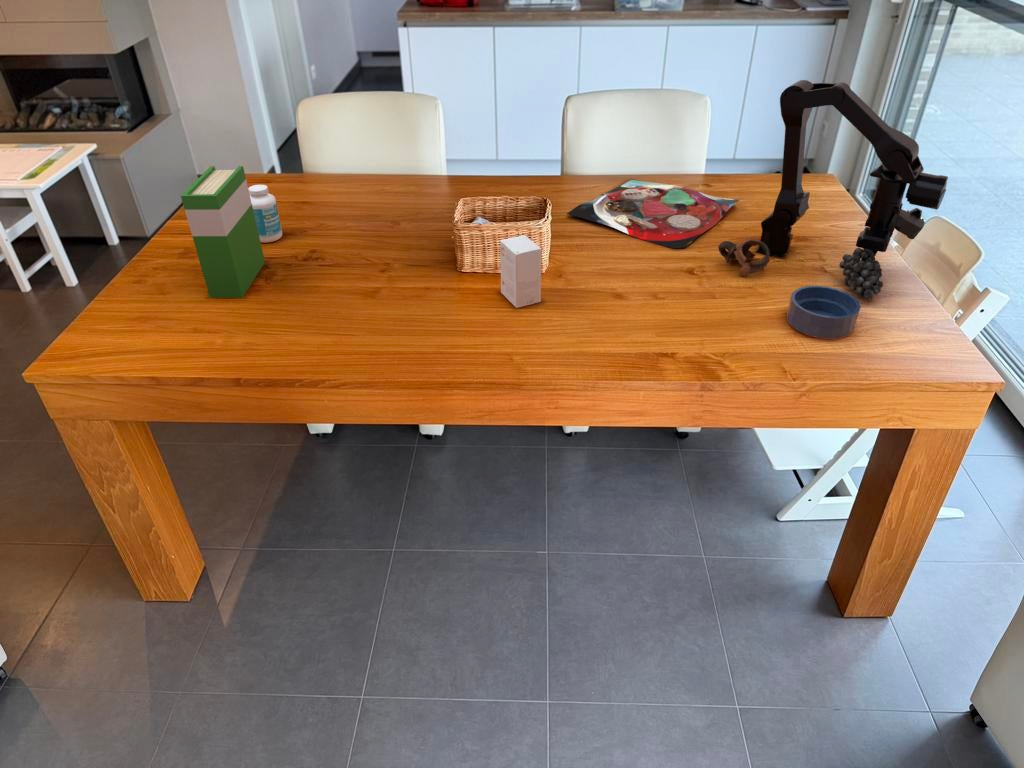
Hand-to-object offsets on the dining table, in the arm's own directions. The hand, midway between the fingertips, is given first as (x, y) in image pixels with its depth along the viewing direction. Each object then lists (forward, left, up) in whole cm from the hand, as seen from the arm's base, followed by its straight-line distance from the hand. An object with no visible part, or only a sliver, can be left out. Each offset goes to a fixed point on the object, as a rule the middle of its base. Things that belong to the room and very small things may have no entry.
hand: (868, 262), depth 170 cm
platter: (-57, +10, -3) cm, 58 cm away
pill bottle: (-137, -56, -3) cm, 148 cm away
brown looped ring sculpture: (-26, -11, -3) cm, 28 cm away
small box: (-64, -50, -3) cm, 81 cm away
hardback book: (-126, -76, -3) cm, 147 cm away
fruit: (0, -9, -3) cm, 9 cm away
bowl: (-4, -28, -3) cm, 28 cm away
